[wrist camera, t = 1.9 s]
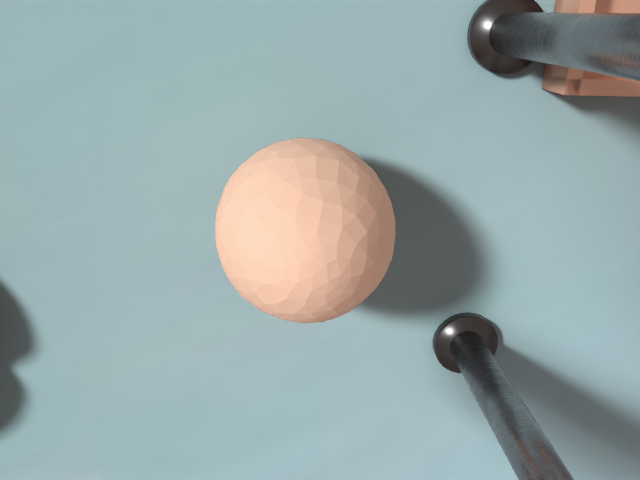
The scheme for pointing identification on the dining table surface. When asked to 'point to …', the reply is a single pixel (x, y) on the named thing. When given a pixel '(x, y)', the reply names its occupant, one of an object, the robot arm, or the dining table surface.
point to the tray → (585, 81)
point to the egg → (305, 230)
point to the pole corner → (554, 39)
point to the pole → (497, 396)
